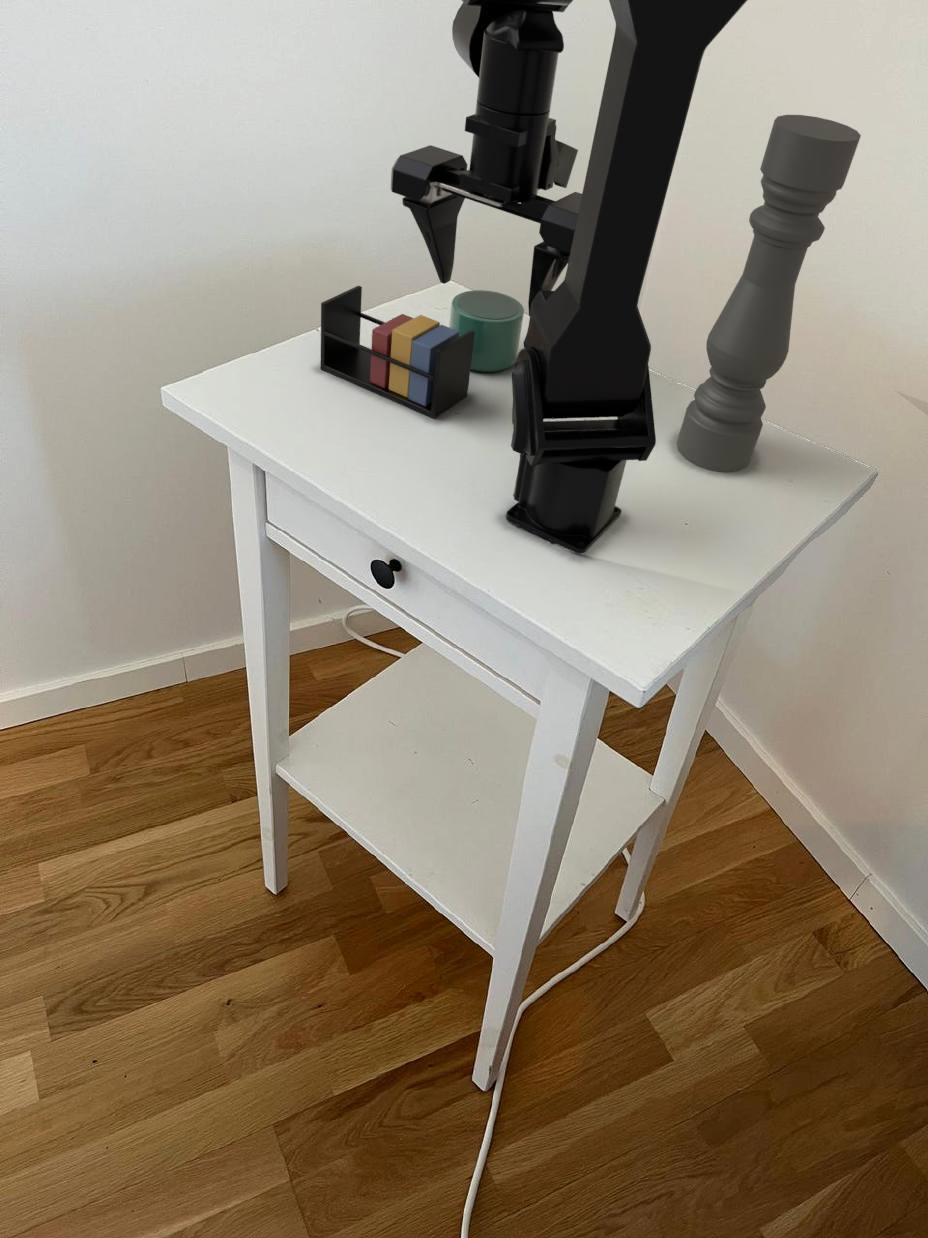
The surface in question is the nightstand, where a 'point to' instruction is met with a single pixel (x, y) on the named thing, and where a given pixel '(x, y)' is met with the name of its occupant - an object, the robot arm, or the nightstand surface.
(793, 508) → the nightstand surface
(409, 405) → the rack
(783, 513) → the nightstand surface
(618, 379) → the robot arm
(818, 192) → the candle holder
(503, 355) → the green glass jar
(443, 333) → the books
